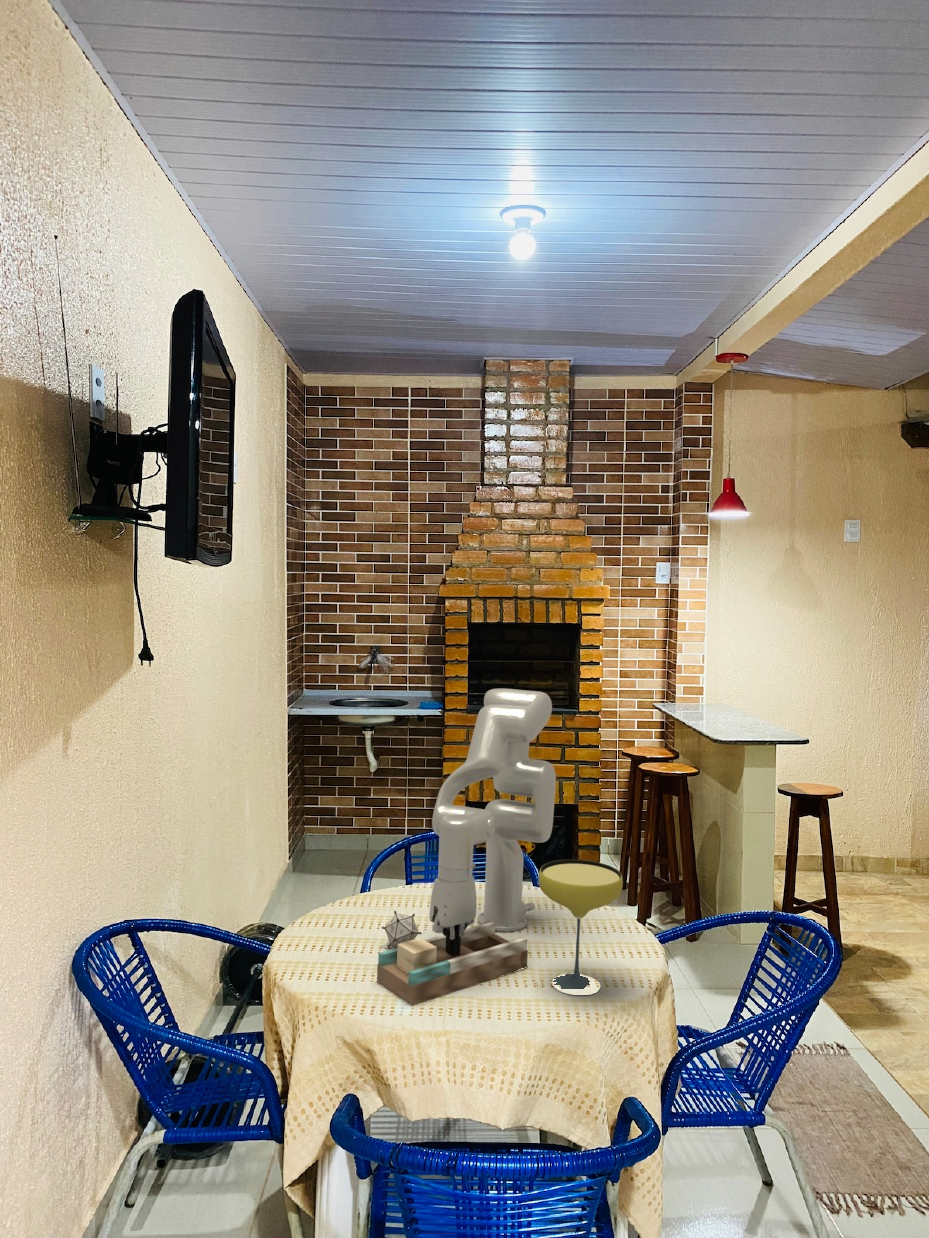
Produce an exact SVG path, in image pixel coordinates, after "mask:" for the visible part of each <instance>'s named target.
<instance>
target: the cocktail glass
mask: <svg viewBox="0 0 929 1238" xmlns="http://www.w3.org/2000/svg"><path fill="white" fill-rule="evenodd" d="M623 883H624V881H623V875H622V873H621V871H620V870H619V869H617V868H615V867H613V866H611V865H608V864H605V863H602V862H598V861H593V860H588V859H587V860H585V859H584V860H583V859H560V860H559V859H558V860H553V861H549V862H547V863H544V864H543V865H542V866H541V867H540V869H539V871H538V885H539V888H540V890H541V891H542V893H543V894H544V895H546V896H547V898H549V899H550V900H551V901H553V902H555V903H556V904H558V905H561V906H562V907H565V908H566V909H568V910H569V911H570V912H571V914H572V916H573V917H574V918H576V919H577V920H576V922H577V923H576V941H575V942H576V946H575V959H574V960H575V961H574V962H575V963H574V970H573V973H574V974H566V975H565V976H560V977H556V978H554V977H553V978H554V979H556V980H554V981H553V982H557V983H556V984H554V985H560V986H561V989H584V988H585V987H586V986H587V985H590V984H589V982H590V981H589V980H588V978H586V977H583V976H580V974H581V973H580V963H579V962H580V937H581V936H580V935H581V932H580V931H581V919H583V918H584V917H585V916H586V915H587V914H589V913H590V911H592V910H596V909H598V908H602V907H605V906H608V905H610V904H611V903H612V902H614V901H616V900H617V899H618V898H619V897H620V896H621V894H622V891H623V885H624V884H623Z"/></svg>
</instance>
